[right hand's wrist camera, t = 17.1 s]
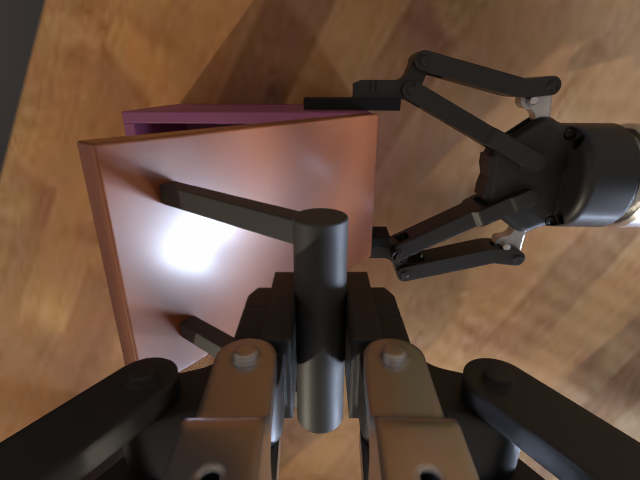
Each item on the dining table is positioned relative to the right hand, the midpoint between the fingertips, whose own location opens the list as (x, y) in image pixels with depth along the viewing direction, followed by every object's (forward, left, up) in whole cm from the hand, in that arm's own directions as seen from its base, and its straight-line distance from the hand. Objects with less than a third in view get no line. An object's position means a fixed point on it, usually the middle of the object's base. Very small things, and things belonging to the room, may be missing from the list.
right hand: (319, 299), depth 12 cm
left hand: (0, +2, -19) cm, 19 cm away
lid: (0, +3, -8) cm, 9 cm away
